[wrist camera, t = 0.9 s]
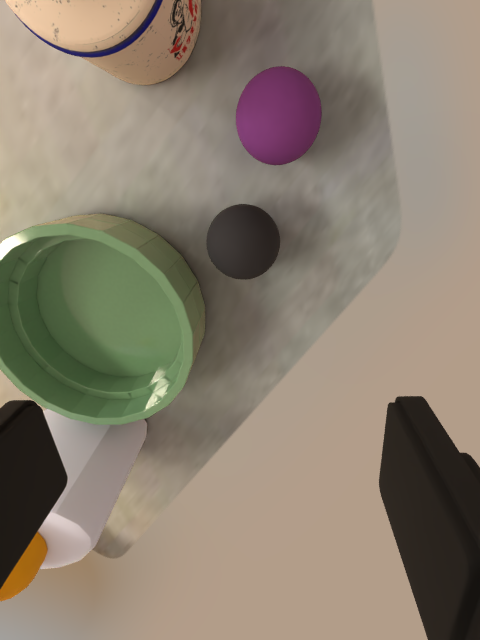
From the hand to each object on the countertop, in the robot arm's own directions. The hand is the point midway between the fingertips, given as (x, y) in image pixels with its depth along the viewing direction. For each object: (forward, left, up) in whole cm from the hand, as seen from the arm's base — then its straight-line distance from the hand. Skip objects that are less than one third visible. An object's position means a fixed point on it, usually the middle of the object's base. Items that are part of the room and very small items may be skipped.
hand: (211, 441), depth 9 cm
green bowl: (+5, -14, -22) cm, 26 cm away
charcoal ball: (-1, -1, -22) cm, 22 cm away
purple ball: (-9, +2, -22) cm, 24 cm away
